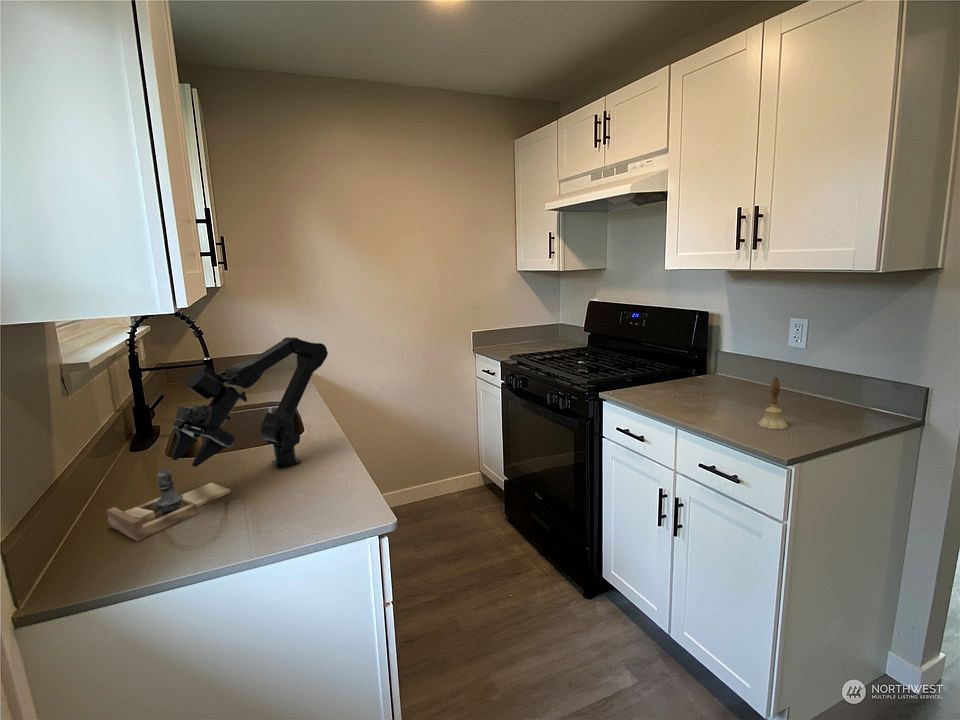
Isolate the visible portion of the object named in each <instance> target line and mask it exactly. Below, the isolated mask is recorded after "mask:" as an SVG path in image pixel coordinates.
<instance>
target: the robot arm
mask: <svg viewBox="0 0 960 720" xmlns="http://www.w3.org/2000/svg"><path fill="white" fill-rule="evenodd" d="M328 353H329V352H328V349H327V346H326V345H325V344H324V343H320V342H319V343H318V342H310V341H306V340H303V339H300V338H299V337H289V336H287V337H284V338H283V339H282V340H281V341H279V342H277V343H276V344H274V345H273V346H271V347H270V348H268V349H266V350H265V351H263V352H261V353H259V354H258V355H257V356H254V357H253V358H251V359H249V360H245V361H240V362H238V363H235V364H232V365H229V366H228V367H227V368H226V369H225V371H223V372H220V373H216V372H215V371H214V370H212V368H211V367H209V366H208V365H201V366H200V367H199V368H198V369H196V370H195V371H193V372H192V373H191V374H189V375H188V377H187V378H186V380H185V383H184V384H185V385H184V386H185V387H186V388H187V389H189V390H191V391H192V392H194V393H195V394H197V395H198V396H200V397H202V398H203V399H205V400H208V399H210V400H209V401H208V403H207V405H206V404H203V405H194V406H193V407H187V406H182V405H178V406H177V409H176V414H175V415H174V416H175V417H174V419H176V420H175V421H174V422H173V424H172V427H173V431H174V432H175V434H176V442H175V446H174V448H173V452H172V456H171V460H173V461H177V460H179V459H180V458H181V457H182V456H183V455H184V454H185V453H186V452H187V451H188V450H189V449H190V448H191V447H193V445H194V444H195V443H197V442H198V441H199V439H198V438H200V437H201V442H202V443H201V445H200V448H199V450H198V452H197V453H196V455H195V457H194V459H193V461H192V464H191V466H192V467H194V468H197V467H198V466H200V465H201V464H203V463H204V462H206V461H207V460H209V459H210V458H212V457H213V456H215V455H216V454H218V453H220V452H221V451H223V450H226V449H227V447H229V448H231V447H232V446H233V444H234V443H235V435H234V434H232V433H230V432H229V431H227V430H225V429H223V428H222V427H223V425H224V424H225V422H226V421H227V422H230V420H231V419H232V417H231V416H230V414H231V412H232V411H233V409H234V408H235V407H236V405H237V403H238V402H239V401H240V402H245V403H246V402H248V397H247V394H246V391H244V390H237V389H236V388H239V389H240V388H241V389H249V388H251V387H252V386H253V385H255V384H256V383H257V382H258V381H259V380H260V379H261V377H262V375H263V373H265V372H266V371H268V370H269V369H270V368H272V367H274V366H275V365H276V364H278V363H279V362H281V361H283V360H284V359H285V358H287V357H289V356H290V355H292V354H294V355H296V368H295V370H294V373H293V375H292V377H291V379H290V381H289V383H288V385H287V387H286V389H285V391H284V394H283V395H282V398H281V399H280V402H279V403H278V406H277V408H276V409H275V410H274V411H273V412H266V414H265V416H264V419H263V421H262V422H261V424H260V431H259V432H260V434H261V437H262V439H264V440H266V442H267V444H269V445H273V452H274V454H273V455H274V460H272V461H271V463H272V464H273V466H275V467H276V468H277V469H283V468H286V467H291V466H294V465H297V464H301V460H300V459H298V458H297V457H296V447H295V446H296V445H298V444H300V441H301V435H299V434H298V433H296V432H294V431H293V430H294V426H295V423H294V414H295V412H296V410H297V409H298V405H299V404H300V402H301V400H302V397H303V395H304V393H305V391H306V388H307V386H308V384H309V382H310V380H311V378H312V375H313V374H314V372H315V371H317V370H318V369H319V368H320V367H322V365H323V364H324V362H325V360H326V359H327V358H328ZM226 385H228V386H226ZM234 387H235V388H234Z"/></svg>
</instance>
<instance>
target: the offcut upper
mask: <svg viewBox="0 0 960 720" xmlns="http://www.w3.org/2000/svg"><path fill="white" fill-rule="evenodd" d="M133 508H134V509H132V508H131V509H132V510H130V509H129V510H130V511H128V512H126V513H128V514H130V515H132V516H134V517H136V518H138V519H140V520H141V522H142V525H143V524H146V523H148V522H150V521H153V520H155V519H156V516H155V512H154V511H150V510H146V509H141V508H135V507H133Z"/></svg>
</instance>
